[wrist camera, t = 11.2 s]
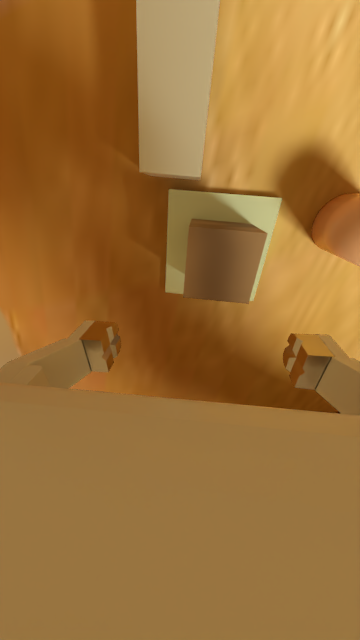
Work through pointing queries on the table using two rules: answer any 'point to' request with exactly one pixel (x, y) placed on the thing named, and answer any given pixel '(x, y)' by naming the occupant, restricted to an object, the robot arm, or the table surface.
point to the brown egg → (339, 227)
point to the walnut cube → (222, 260)
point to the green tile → (218, 209)
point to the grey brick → (174, 84)
